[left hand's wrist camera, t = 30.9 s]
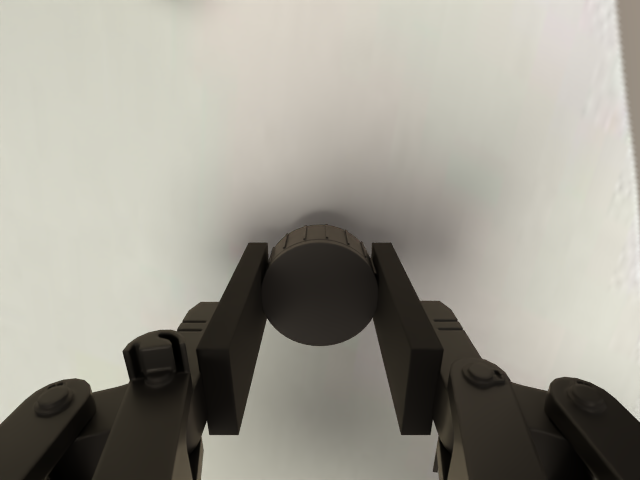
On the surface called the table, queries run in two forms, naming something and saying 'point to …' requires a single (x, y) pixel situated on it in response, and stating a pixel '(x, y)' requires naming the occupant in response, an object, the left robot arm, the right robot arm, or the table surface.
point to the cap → (319, 286)
